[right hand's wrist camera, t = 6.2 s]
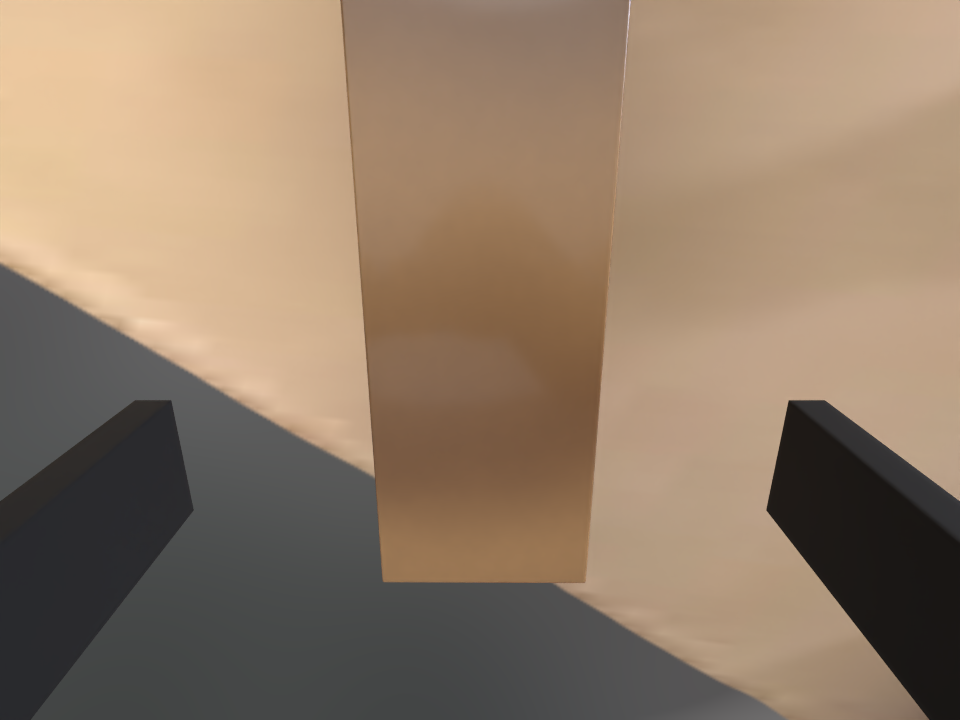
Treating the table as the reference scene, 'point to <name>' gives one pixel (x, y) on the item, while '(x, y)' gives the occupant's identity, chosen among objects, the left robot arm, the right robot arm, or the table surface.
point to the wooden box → (484, 273)
